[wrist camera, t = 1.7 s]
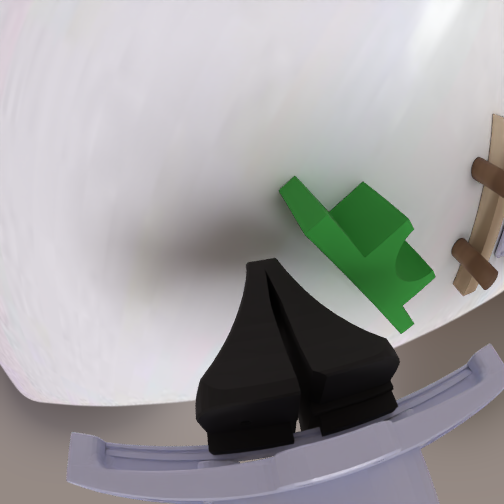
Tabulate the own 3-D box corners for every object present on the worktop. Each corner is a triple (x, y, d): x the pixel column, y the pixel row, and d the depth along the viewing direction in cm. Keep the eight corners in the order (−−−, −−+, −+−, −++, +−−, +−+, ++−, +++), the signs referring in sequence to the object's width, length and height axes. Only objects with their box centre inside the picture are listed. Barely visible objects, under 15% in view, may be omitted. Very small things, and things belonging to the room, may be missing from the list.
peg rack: (504, 117, 11) (546, 137, 8) (464, 279, 20) (490, 309, 17) (477, 108, 11) (527, 128, 7) (437, 289, 20) (463, 323, 16)
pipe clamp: (409, 257, 18) (444, 299, 14) (372, 288, 19) (401, 334, 15) (331, 139, 12) (381, 169, 8) (277, 188, 13) (304, 236, 10)
